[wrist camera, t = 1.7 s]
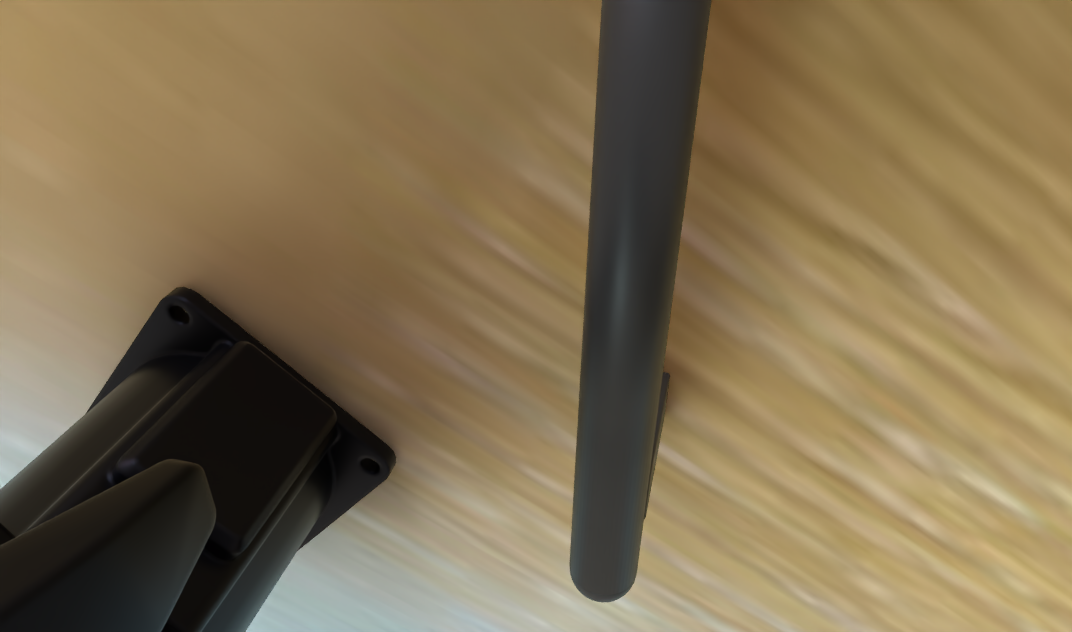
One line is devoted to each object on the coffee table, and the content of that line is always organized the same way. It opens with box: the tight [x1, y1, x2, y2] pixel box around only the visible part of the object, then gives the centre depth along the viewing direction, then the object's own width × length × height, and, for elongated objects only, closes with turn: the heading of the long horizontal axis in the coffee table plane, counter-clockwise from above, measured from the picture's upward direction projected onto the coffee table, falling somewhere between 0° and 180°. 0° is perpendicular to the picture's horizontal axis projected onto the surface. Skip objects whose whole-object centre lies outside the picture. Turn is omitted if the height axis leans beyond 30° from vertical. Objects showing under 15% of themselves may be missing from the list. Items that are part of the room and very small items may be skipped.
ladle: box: [570, 0, 711, 602], centre depth 11 cm, size 17×5×4 cm, turn 179°
